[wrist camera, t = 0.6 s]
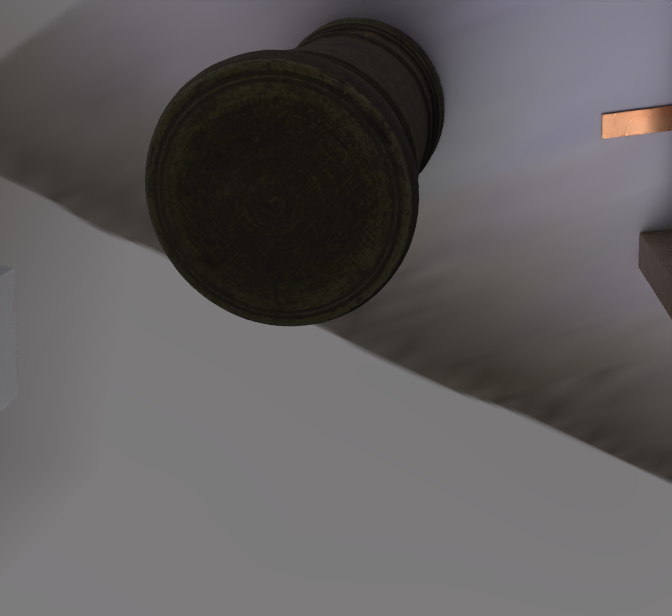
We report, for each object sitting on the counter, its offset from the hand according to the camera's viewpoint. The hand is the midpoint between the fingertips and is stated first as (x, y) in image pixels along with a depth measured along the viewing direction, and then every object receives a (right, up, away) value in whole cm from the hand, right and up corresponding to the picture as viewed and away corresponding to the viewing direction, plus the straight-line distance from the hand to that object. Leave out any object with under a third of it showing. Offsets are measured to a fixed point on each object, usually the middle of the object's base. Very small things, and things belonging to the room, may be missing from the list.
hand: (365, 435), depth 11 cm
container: (+1, +13, +24) cm, 27 cm away
